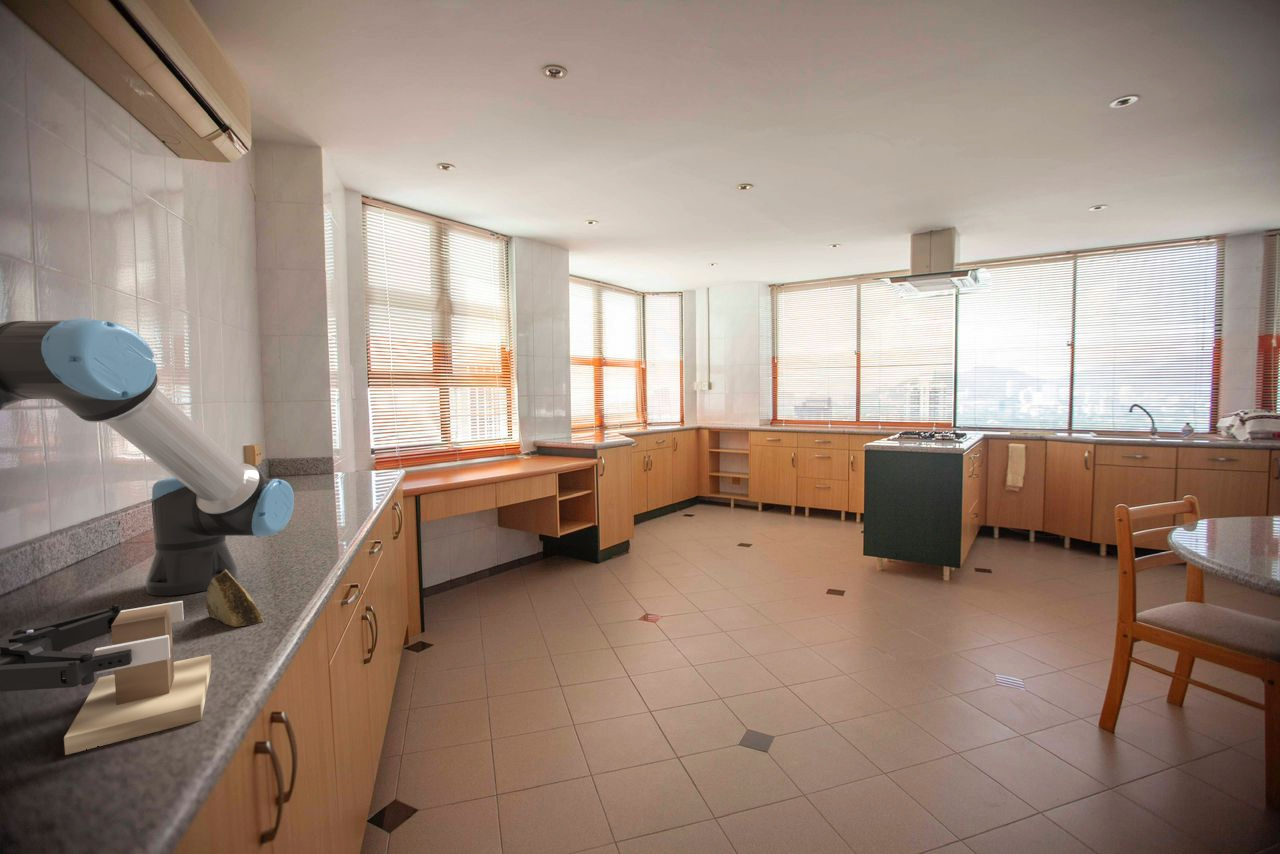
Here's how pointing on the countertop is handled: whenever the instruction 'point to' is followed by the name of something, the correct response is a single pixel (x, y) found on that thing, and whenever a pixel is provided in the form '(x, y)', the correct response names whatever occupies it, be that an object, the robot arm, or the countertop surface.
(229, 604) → the rock
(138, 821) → the countertop surface
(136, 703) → the cutting board
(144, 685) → the walnut block
